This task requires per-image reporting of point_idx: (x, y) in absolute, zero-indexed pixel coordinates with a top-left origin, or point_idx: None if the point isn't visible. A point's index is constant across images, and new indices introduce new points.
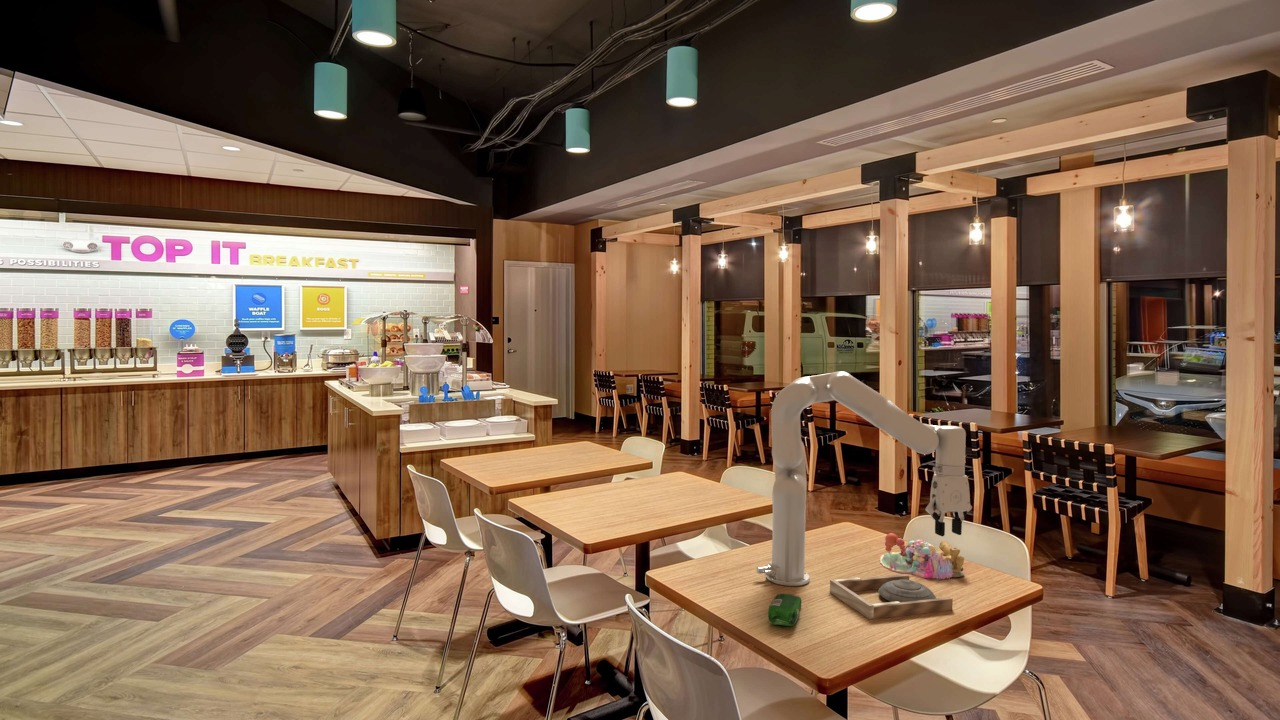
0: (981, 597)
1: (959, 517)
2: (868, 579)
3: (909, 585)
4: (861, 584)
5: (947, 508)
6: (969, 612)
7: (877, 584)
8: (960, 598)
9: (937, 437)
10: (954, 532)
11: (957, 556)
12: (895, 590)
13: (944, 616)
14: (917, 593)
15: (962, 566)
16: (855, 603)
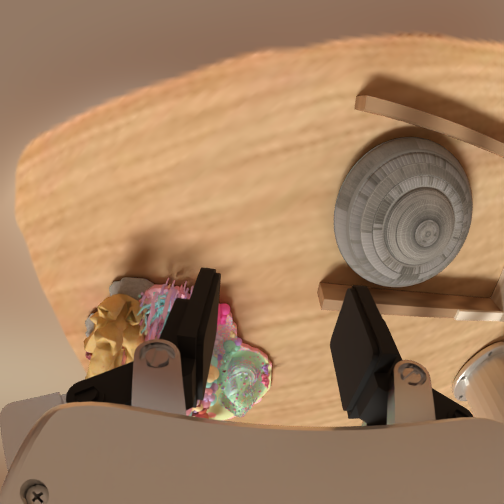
0: (183, 136)
1: (181, 376)
2: (442, 308)
3: (440, 208)
4: (451, 303)
5: (465, 455)
6: (321, 61)
7: (413, 298)
8: (255, 152)
9: None
10: (217, 313)
11: (107, 325)
12: (466, 216)
13: (411, 78)
14: (439, 171)
15: (87, 319)
16: None
